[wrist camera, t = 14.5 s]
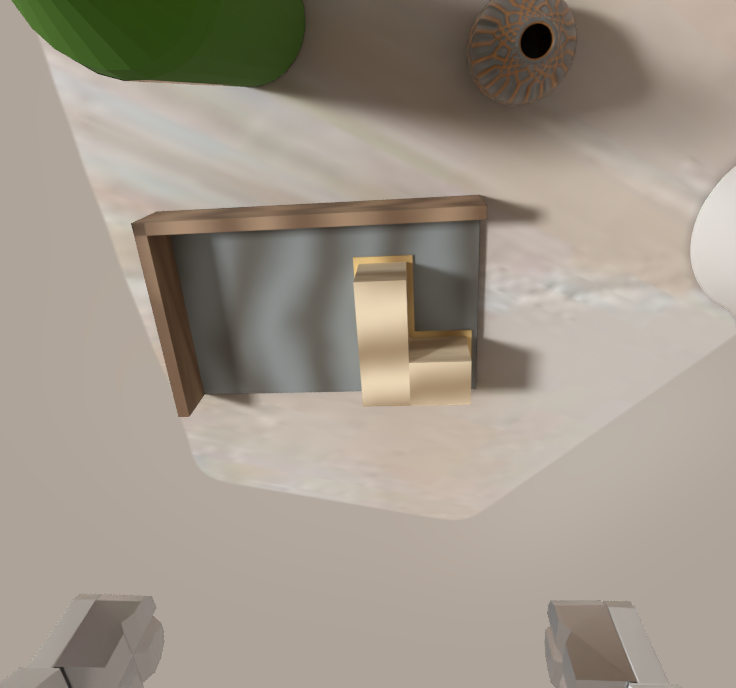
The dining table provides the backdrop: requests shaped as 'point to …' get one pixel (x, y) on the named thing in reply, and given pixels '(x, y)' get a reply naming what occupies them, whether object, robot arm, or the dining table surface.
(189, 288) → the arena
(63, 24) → the wine bottle
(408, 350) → the oak L block
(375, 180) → the dining table surface
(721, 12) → the dining table surface
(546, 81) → the vase
